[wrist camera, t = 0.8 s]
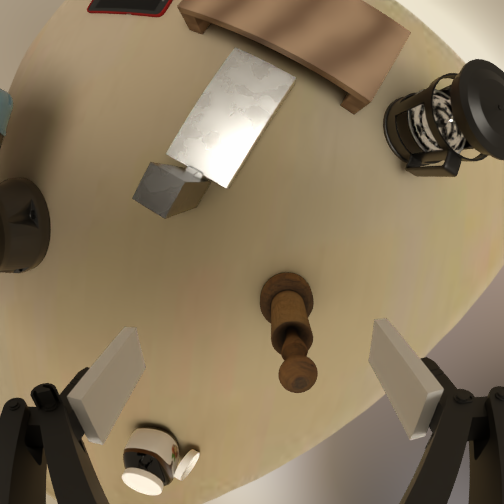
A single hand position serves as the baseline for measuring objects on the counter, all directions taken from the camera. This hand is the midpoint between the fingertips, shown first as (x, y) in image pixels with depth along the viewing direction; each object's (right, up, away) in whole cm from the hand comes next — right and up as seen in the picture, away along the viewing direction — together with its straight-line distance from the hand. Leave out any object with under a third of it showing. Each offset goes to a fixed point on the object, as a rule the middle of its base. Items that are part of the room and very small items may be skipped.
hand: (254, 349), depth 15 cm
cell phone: (-18, +43, +14) cm, 49 cm away
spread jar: (-15, -30, +30) cm, 45 cm away
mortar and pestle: (+4, -1, +23) cm, 23 cm away
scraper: (-3, +19, +18) cm, 27 cm away
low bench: (+5, +33, +15) cm, 37 cm away
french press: (+21, +20, +17) cm, 34 cm away
